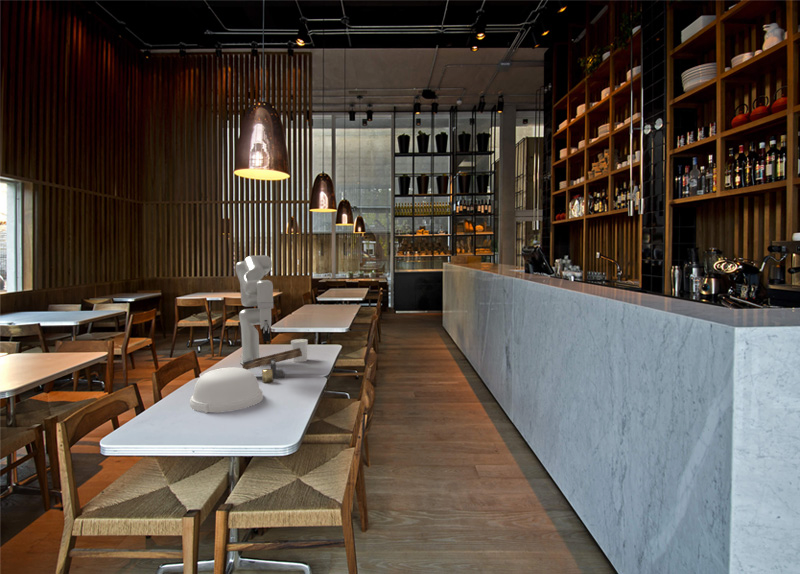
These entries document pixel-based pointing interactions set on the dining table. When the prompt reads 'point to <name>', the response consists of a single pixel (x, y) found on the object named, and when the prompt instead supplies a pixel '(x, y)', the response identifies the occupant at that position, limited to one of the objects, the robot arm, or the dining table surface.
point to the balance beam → (271, 358)
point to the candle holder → (303, 347)
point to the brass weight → (267, 376)
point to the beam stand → (276, 370)
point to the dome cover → (226, 390)
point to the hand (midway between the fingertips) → (267, 339)
